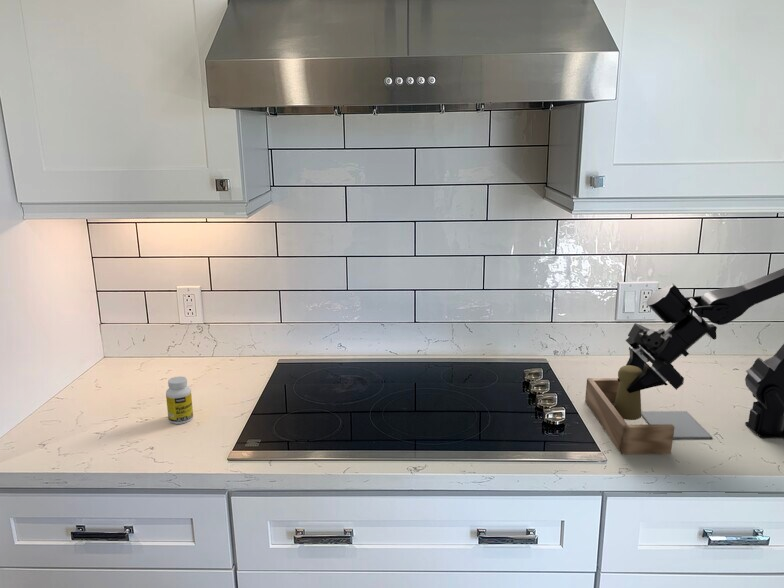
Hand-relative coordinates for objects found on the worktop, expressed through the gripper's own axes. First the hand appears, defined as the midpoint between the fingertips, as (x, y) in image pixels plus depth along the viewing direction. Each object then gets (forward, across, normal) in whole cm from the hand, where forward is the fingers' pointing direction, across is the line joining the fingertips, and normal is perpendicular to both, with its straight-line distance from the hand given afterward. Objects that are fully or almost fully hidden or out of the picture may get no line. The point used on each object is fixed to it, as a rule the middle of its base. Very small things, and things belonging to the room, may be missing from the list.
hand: (623, 386), depth 136 cm
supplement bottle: (+76, -4, -64) cm, 99 cm away
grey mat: (-2, 0, +15) cm, 16 cm away
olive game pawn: (+4, 0, +6) cm, 7 cm away
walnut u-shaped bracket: (+6, 0, +8) cm, 10 cm away
